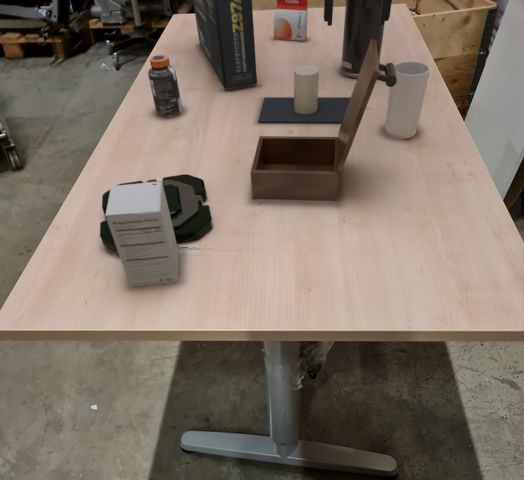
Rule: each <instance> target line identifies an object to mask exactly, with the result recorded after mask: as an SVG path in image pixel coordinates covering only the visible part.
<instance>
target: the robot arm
mask: <svg viewBox="0 0 524 480" xmlns="http://www.w3.org/2000/svg"><path fill="white" fill-rule="evenodd" d="M392 3H393V0H345V7H344V8H345V9H344V10H345V11H344V24H343V38H342V51H341V64H340V73H341V74H342V75H343V76H345V77H348V78H352V79H357V78H358V75H359V73H360V70H361V67H362V64H363V61H364V58H365V55H366V53H367V50H368V47H369V44H370V41H371V39H374V40H376V44H377V53H378V63H380V62H381V55H382V48H383V46H382V45H383V38H384V31H385V23H386V22H388V21H389V20H390V17H391V9H392ZM323 7H324V8H323V20H324V22H326V23H327V26H328V27H331V26H332V25H333V15H334V14H333V13H334V0H324V4H323ZM380 64H381V63H380Z"/></svg>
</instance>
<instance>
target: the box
mask: <svg viewBox="0 0 524 480" xmlns="http://www.w3.org/2000/svg"><path fill="white" fill-rule="evenodd" d="M192 2H193V10H194V16H195V22H196V23H195V24H196V28H197V29H196V30H197V36H198V37H197V38H198V43H199V46H200V48H201V49H202V51H203V52H204V54H205V56H206V58H207V60H208V61H209V63H210V64H211V67H212V68H213V70H214V72H215V74H216V75H217V77H218V79H219V81H220V83H221V84H222V87H223V88H224V89H225V90H230V89H236V88H242V87H249V86H254V85H257V84H258V77H257V75H258V74H257V61H256V58H257V57H256V46H255V45H256V43H255V27H254V15H253V14H254V11H253V0H192Z"/></svg>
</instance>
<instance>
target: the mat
mask: <svg viewBox="0 0 524 480" xmlns="http://www.w3.org/2000/svg"><path fill="white" fill-rule="evenodd" d="M350 98H351V97H318V109H317V111H316V112H314V113H312V114H299V113H296V112H295V111H294V97H264V98H263V101H262V105H261V109H260V113H259V117H258V121H257V123H258V124H342V121H343V118H344V115H345V112H346V110H347V107H348V104H349V101H350Z"/></svg>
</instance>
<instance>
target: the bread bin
mask: <svg viewBox="0 0 524 480" xmlns="http://www.w3.org/2000/svg"><path fill="white" fill-rule="evenodd" d="M337 154H338V136H296V135H295V136H292V135H291V136H283V135H281V136H279V135H278V136H277V135H274V136H273V135H259V137H258V141H257V144H256V149H255V153H254V157H253V161H252V165H251V169H250V185H251V196H252V197H251V198H252V200H275V201H277V200H279V201H280V200H281V201H319V202H323V201H325V202H337V201H338V190H339V180H340V171H337Z"/></svg>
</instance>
